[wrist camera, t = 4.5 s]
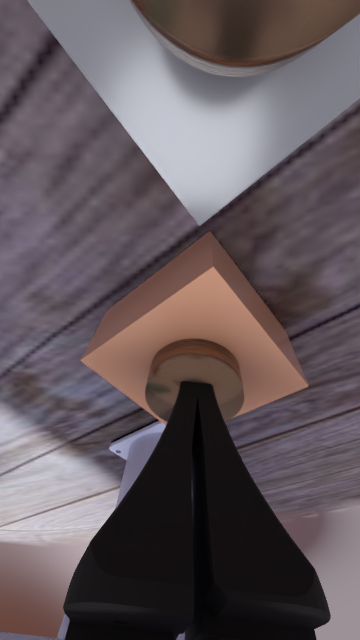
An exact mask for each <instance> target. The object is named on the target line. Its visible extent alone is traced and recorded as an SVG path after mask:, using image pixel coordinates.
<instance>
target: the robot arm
mask: <svg viewBox="0 0 360 640" xmlns="http://www.w3.org/2000/svg"><path fill="white" fill-rule="evenodd" d="M109 449H110V450H111V451H112V452H114V453H115V454H117V455H119V456H120V457H122V458H123V459H125V460H127V461H126V465H125V470H124V474H123V479H122V483H121V488H120V492H119V496H118V501H117V505H116V509H115V510H114V512H113V513H112V514H111V516H110V517H109V518H108V520H107V521H106V522H105V523H104V525H103V526H102V527H101V529H100V530H99V531H98V532H97V534H96V535H95V536H94V538H93V539H92V540H91V542H90V544H89V546H88V547H87V549H86V551H85V553H84V555H83V557H82V558H81V560H80V562H79V564H78V566H77V568H76V570H75V572H74V574H73V577H72V580H71V582H70V585H69V589H68V592H67V596H66V599H65V603H64V607H63V608H64V611H65V615H64V618H63V621H62V624H61V627H60V630H59V634H58V637H57V638H49V637H41V636H33V635H24V634H14V633H6V632H0V640H316V636H315V631H314V629H315V628H318V627H320V626H322V625H324V624H326V623H327V622H329V620H330V612H329V607H328V604H327V600H326V597H325V595H324V592H323V589H322V586H321V583H320V581H319V578H318V576H317V573H316V571H315V569H314V568H313V566H312V565H311V563H310V562H309V561H308V560H307V558H306V557H305V556H304V554H303V553H302V552H301V550H300V549H299V548H298V546H297V545H296V544H295V542H294V541H293V540H292V539H291V537H290V536H289V534H288V533H287V531H286V530H285V529H284V527H283V526H282V524H281V523H280V521H279V520H278V519H277V517H276V516H275V514H274V512H273V511H272V509H271V508H270V506H269V505H268V503H267V502H266V500H265V499H264V497H263V495H262V494H261V492H260V491H259V489H258V487H257V486H256V484H255V482H254V481H253V479H252V477H251V476H250V474H249V472H248V470H247V468H246V466H245V465H244V463H243V461H242V459H241V457H240V455H239V453H238V451H237V449H236V447H235V445H234V443H233V440H232V438H231V436H230V434H229V431H228V429H227V426H226V424H225V422H224V419H223V417H222V414H221V411H220V408H219V405H218V402H217V399H216V396H215V392H214V388H213V386H212V385H211V384H206V383H197V382H188V381H182V382H180V388H179V392H178V396H177V399H176V402H175V405H174V408H173V410H172V413H171V415H170V418H169V420H168V422H167V425H165V424H163V423H162V422H161V421H157V422H155V423H153V424H151V425H149V426H147V427H145V428H142V429H140V430H138V431H136V432H134V433H132V434H130V435H128V436H126V437H123V438H121V439H119V440H117V441H115V442H113V443H111V444H110V447H109Z"/></svg>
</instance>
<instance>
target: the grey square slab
mask: <svg viewBox="0 0 360 640" xmlns="http://www.w3.org/2000/svg"><path fill="white" fill-rule="evenodd" d="M27 1H28V2H29V3H30V5H31V6H32V7H33V9H34V10H35V11H36V13H37V14H38V15H39V17H40V18H41V19H42V20H43V22H44V23H45V24H46V26H47V27H48V28H49V30H50V31H51V32H52V34H53V35H54V36H55V37H56V39H57V40H58V41H59V43H60V44H61V45H62V47H63V48H64V49H65V51H66V52H67V53H68V54H69V56H70V57H71V58H72V60H73V61H74V62H75V64H76V65H77V66H78V68H79V69H80V70H81V71H82V73H83V74H84V75H85V77H86V78H87V79H88V81H89V82H90V83H91V85H92V86H93V87H94V88H95V90H96V91H97V92H98V94H99V95H100V96H101V98H102V99H103V100H104V102H105V103H106V104H107V105H108V107H109V108H110V109H111V111H112V112H113V113H114V115H115V116H116V117H117V119H118V120H119V121H120V122H121V124H122V125H123V126H124V128H125V129H126V130H127V132H128V133H129V134H130V136H131V137H132V138H133V139H134V141H135V142H136V143H137V145H138V146H139V147H140V149H141V150H142V151H143V153H144V154H145V155H146V156H147V158H148V159H149V160H150V162H151V163H152V164H153V166H154V167H155V168H156V170H157V171H158V172H159V174H160V175H161V176H162V177H163V179H164V180H165V181H166V183H167V184H168V185H169V187H170V188H171V189H172V191H173V192H174V193H175V194H176V196H177V197H178V198H179V200H180V201H181V202H182V204H183V205H184V206H185V208H186V209H187V210H188V211H189V213H190V214H191V215H192V217H193V218H194V219H195V221H196V222H197V223H198V225H199V226H200V225H201V224H203V223H204V222H205V221H206V220H208V219H209V218H210V217H211V216H213V215H214V214H215V213H216V212H218V211H219V210H220V209H221V208H223V207H224V206H225V205H226V204H228V203H229V202H230V201H231V200H233V199H234V198H235V197H236V196H238V195H239V194H240V193H241V192H243V191H244V190H245V189H246V188H248V187H249V186H250V185H251V184H253V183H254V182H255V181H256V180H258V179H259V178H260V177H261V176H263V175H264V174H265V173H266V172H268V171H269V170H270V169H271V168H273V167H274V166H275V165H276V164H278V163H279V162H280V161H282V160H283V159H284V158H285V157H287V156H288V155H289V154H290V153H292V152H293V151H294V150H295V149H297V148H298V147H299V146H300V145H302V144H303V143H304V142H305V141H307V140H308V139H309V138H310V137H312V136H313V135H314V134H315V133H317V132H318V131H319V130H320V129H322V128H323V127H324V126H325V125H327V124H328V123H329V122H330V121H332V120H333V119H334V118H335V117H337V116H338V115H339V114H340V113H342V112H343V111H344V110H345V109H347V108H348V107H349V106H350V105H352V104H353V103H354V102H355V101H357V100H358V99H359V98H360V14H359V15H358V16H356V17H355V18H354V19H352V20H351V21H350V22H348V23H347V24H346V25H344V26H343V27H342V28H340V29H339V30H338V31H336V32H335V33H333V34H332V35H331V36H329V37H328V38H327V39H325V40H324V41H323V42H321V43H320V44H319V45H317V46H316V47H315V48H313V49H312V50H310V51H309V52H307V53H306V54H304V55H303V56H301V57H300V58H298V59H296V60H295V61H293V62H291V63H289V64H287V65H285V66H283V67H280V68H278V69H276V70H273V71H269V72H266V73H263V74H260V75H253V76H246V77H225V76H220V75H215V74H210V73H207V72H205V71H202V70H199V69H197V68H194V67H192V66H191V65H189V64H187V63H186V62H184V61H182V60H181V59H179V58H177V57H176V56H175V55H174V54H173V53H171V52H170V51H169V50H168V49H166V48H165V47H164V46H163V45H162V44H161V43H160V42H159V41H158V40H157V39H156V37H155V36H154V35H153V34H152V33H151V32H150V31H149V30H148V28H147V27H146V26H145V24H144V23H143V21H142V20H141V19H140V17H139V16H138V14H137V13H136V11H135V10H134V8H133V6H132V4H131V3H130V1H129V0H27Z"/></svg>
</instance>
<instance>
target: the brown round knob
mask: <svg viewBox="0 0 360 640" xmlns="http://www.w3.org/2000/svg"><path fill="white" fill-rule="evenodd" d="M129 1H130V3H131V4H132V6H133V8H134V10H135V11H136V13H137V14H138V16H139V17H140V19H141V20H142V21H143V23H144V24H145V26H146V27H147V28H148V30H149V31H150V32H151V33H152V34H153V35H154V36H155V37H156V39H157V40H158V41H159V42H160V43H161V44H162V45H163V46H164V47H165V48H166V49H168V50H169V51H170V52H171V53H173V54H174V55H175V56H176V57H177V58H179V59H181V60H182V61H184V62H186V63H187V64H189V65H191V66H192V67H194V68H197V69H199V70H202V71H205V72H207V73H210V74H215V75H220V76H225V77H246V76H253V75H260V74H263V73H266V72H269V71H273V70H276V69H278V68H280V67H283V66H285V65H287V64H289V63H291V62H293V61H295V60H296V59H298V58H300V57H301V56H303V55H304V54H306V53H307V52H309V51H310V50H312V49H313V48H315V47H316V46H317V45H319V44H320V43H321V42H323V41H324V40H325V39H327V38H328V37H329V36H331V35H332V34H333V33H335V32H336V31H338V30H339V29H340V28H342V27H343V26H344V25H346V24H347V23H348V22H350V21H351V20H352V19H354V18H355V17H356V16H358V15H359V14H360V0H129Z"/></svg>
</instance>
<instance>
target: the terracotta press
mask: <svg viewBox="0 0 360 640" xmlns="http://www.w3.org/2000/svg"><path fill="white" fill-rule="evenodd" d="M185 339H203V340H208V341H212V342H215V343H217V344H219V345H221V346H223V347H225V348H226V349H228V350H229V351H230V352H231V353H232V354H233V355H234V356H235V358H236V359H237V361H238V363H239V366H240V372H241V378H242V384H243V390H244V403H243V406H242V408H241V409H240V411H239V412H238V413H237V414H236V415H235V416H234V417H236V416H239V415H241V414H244V413H246V412H248V411H251V410H253V409H255V408H258V407H260V406H263V405H265V404H267V403H270V402H272V401H275V400H277V399H279V398H282V397H284V396H287V395H289V394H291V393H294V392H296V391H299V390H301V389H303V388H306V387H308V386H309V385H308V383H307V380H306V378H305V376H304V373H303V371H302V369H301V366H300V364H299V361H298V359H297V357H296V354H295V352H294V350H293V347H292V345H291V343H290V340H289V338H288V336H287V333H286V331H285V330H284V328H283V327H282V326H281V324H280V323H279V322H278V320H277V319H276V318H275V316H274V315H273V314H272V312H271V311H270V310H269V308H268V307H267V306H266V304H265V303H264V302H263V300H262V299H261V298H260V296H259V295H258V294H257V292H256V291H255V290H254V288H253V287H252V286H251V284H250V283H249V282H248V280H247V279H246V278H245V276H244V275H243V274H242V272H241V271H240V270H239V268H238V267H237V266H236V264H235V263H234V262H233V260H232V259H231V258H230V256H229V255H228V254H227V252H226V251H225V250H224V248H223V247H222V246H221V244H220V243H219V242H218V240H217V239H216V238H215V236H214V235H213V234H212V232H211V231H209V232H208V233H206V234H205V235H204V236H202V237H201V238H200V239H199V240H197V241H196V242H195V243H193V244H192V245H191V246H190V247H188V248H187V249H186V250H184V251H183V252H182V253H181V254H179V255H178V256H177V257H175V258H174V259H173V260H171V261H170V262H169V263H168V264H166V265H165V266H164V267H162V268H161V269H160V270H159V271H157V272H156V273H155V274H153V275H152V276H151V277H150V278H148V279H147V280H146V281H144V282H143V283H142V284H141V285H139V286H138V287H137V288H135V289H134V290H133V291H131V292H130V293H129V294H128V295H126V296H125V297H124V298H122V299H121V300H120V301H119V302H117V303H116V304H115V305H113V306H112V307H111V308H110V309H108V310H107V311H106V313H105V315H104V316H103V318H102V320H101V322H100V324H99V326H98V328H97V330H96V332H95V333H94V335H93V337H92V339H91V341H90V343H89V345H88V347H87V349H86V350H85V352H84V354H83V356H82V358H81V360H80V361H82V362H83V363H84V364H86V365H87V366H88V367H90V368H91V369H92V370H94V371H95V372H96V373H98V374H99V375H100V376H101V377H103V378H104V379H105V380H107V381H108V382H109V383H111V384H112V385H113V386H115V387H116V388H117V389H119V390H120V391H121V392H123V393H124V394H125V395H126V396H128V397H129V398H130V399H132V400H133V401H134V402H136V403H137V404H138V405H140V406H141V407H142V408H144V409H145V410H146V411H148V412H149V413H150V414H151V415H153V416H154V417H155V418H157V419H158V420H159V421H161V422H162V423H163V424H165V425H167V422H166V421H164V420H163V419H161V418H159V417H158V416H157V415H156V414H154V413H153V411H152V410H151V409H150V408H149V406H148V404H147V402H146V399H145V388H146V384H147V379H148V374H149V370H150V365H151V362H152V360H153V358H154V356H155V355H156V354H157V352H158V351H160V350H161V349H162V348H163V347H165V346H167V345H168V344H170V343H173V342H176V341H180V340H185ZM234 417H233V418H234Z"/></svg>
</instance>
